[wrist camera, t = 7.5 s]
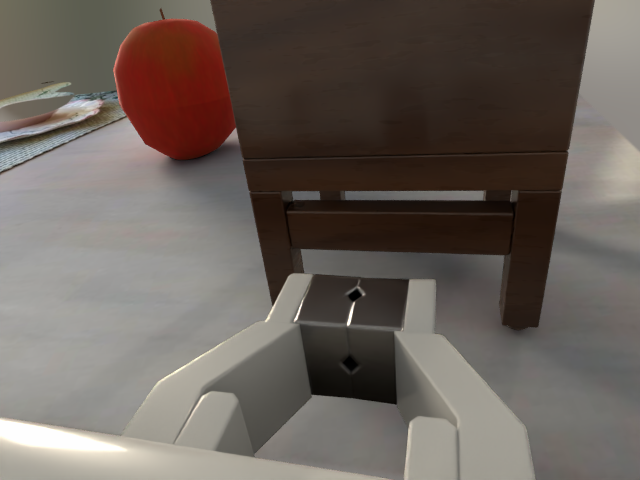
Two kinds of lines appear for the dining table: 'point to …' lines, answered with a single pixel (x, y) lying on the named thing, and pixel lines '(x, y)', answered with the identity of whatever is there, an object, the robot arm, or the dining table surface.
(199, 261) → the dining table surface
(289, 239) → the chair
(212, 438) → the robot arm
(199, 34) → the apple
